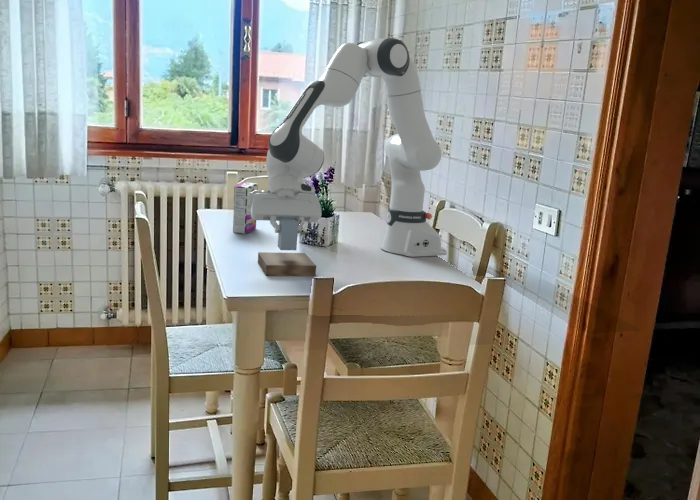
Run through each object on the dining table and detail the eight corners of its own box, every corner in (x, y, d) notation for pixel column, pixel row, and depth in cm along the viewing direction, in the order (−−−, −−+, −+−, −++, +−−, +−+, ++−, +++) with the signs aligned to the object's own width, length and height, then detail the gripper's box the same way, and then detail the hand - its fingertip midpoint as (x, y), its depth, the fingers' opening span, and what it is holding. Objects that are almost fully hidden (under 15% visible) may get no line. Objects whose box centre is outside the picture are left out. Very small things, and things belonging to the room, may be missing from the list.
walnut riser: (304, 262, 199) (304, 252, 199) (315, 275, 186) (316, 265, 186) (257, 262, 195) (258, 252, 194) (265, 275, 182) (266, 265, 181)
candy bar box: (243, 226, 240) (245, 181, 236) (256, 228, 239) (258, 183, 236) (231, 232, 230) (233, 185, 226) (245, 234, 229) (247, 187, 225)
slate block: (292, 246, 192) (294, 219, 190) (296, 250, 188) (298, 222, 186) (277, 246, 191) (279, 218, 189) (280, 250, 186) (282, 222, 185)
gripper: (250, 183, 189) (253, 225, 182) (319, 187, 195) (325, 227, 188) (246, 196, 194) (250, 237, 187) (314, 199, 200) (320, 238, 193)
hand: (288, 232), depth 188 cm, fingers closed on slate block, 4 cm apart
